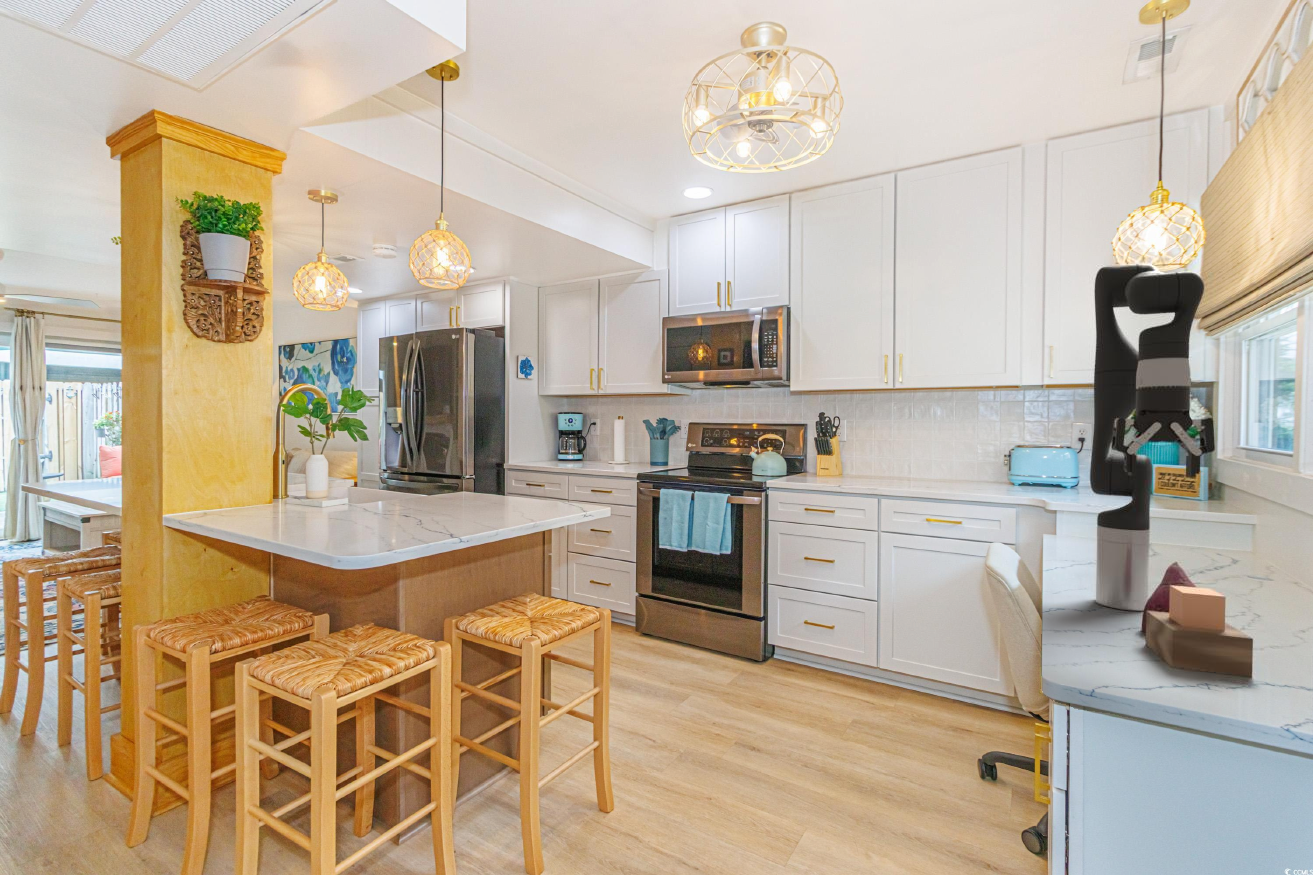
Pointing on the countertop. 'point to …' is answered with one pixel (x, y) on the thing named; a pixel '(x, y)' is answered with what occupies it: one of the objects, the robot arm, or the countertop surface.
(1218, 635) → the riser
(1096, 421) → the robot arm
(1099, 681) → the countertop surface
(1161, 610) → the vegetable
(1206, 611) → the block
